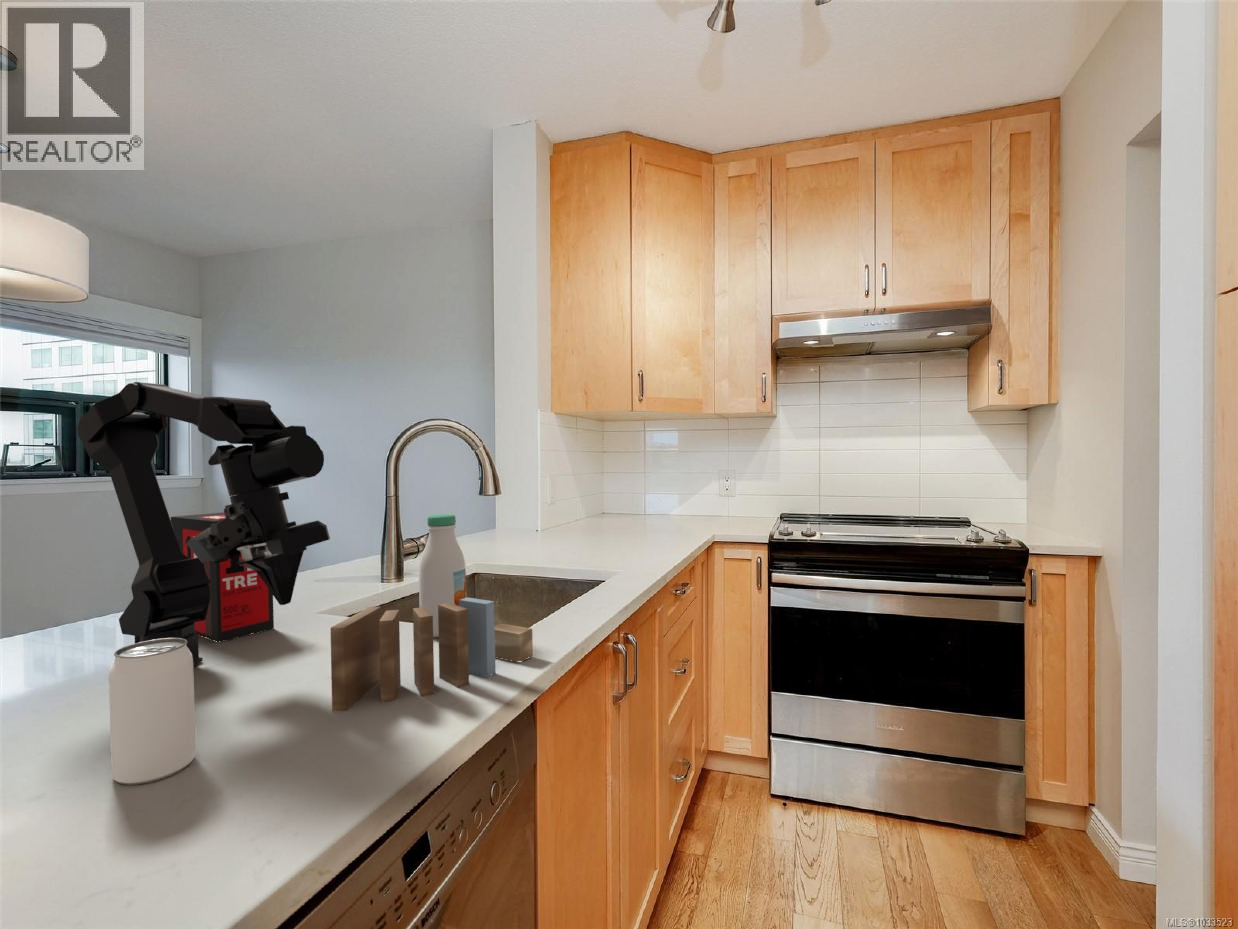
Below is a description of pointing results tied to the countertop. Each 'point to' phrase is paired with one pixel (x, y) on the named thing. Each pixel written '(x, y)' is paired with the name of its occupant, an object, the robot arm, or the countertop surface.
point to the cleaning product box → (227, 588)
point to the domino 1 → (355, 657)
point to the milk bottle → (441, 568)
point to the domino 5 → (480, 635)
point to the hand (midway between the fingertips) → (285, 604)
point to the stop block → (513, 642)
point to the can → (151, 710)
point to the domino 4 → (453, 644)
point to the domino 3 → (423, 651)
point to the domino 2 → (389, 655)
